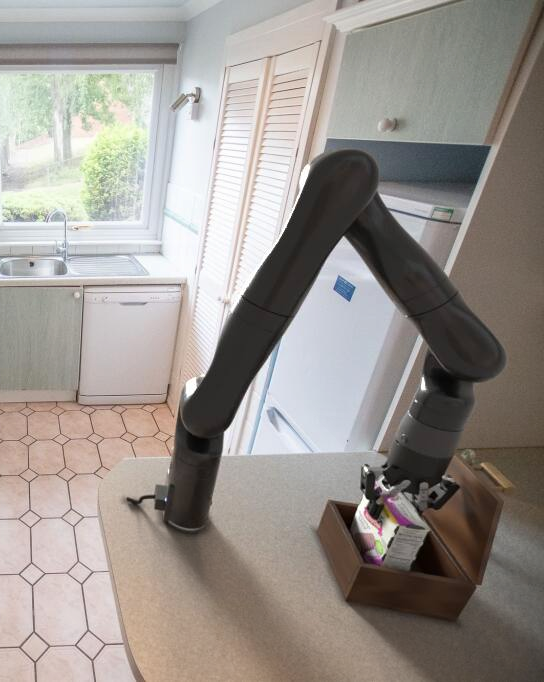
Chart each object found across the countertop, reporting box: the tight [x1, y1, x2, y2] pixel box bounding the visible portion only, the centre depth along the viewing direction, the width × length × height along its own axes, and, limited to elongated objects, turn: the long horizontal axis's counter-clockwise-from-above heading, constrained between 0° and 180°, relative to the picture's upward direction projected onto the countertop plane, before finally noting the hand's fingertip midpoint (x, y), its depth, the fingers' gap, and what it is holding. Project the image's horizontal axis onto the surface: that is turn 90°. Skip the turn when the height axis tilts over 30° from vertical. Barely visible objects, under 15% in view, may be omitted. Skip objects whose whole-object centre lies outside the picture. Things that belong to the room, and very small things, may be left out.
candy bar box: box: [349, 480, 430, 571], centre depth 82 cm, size 11×5×16 cm, turn 168°
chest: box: [316, 499, 478, 623], centre depth 84 cm, size 17×16×9 cm
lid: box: [423, 450, 519, 586], centre depth 76 cm, size 18×16×6 cm
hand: (389, 518), depth 80 cm, fingers closed on candy bar box, 5 cm apart
